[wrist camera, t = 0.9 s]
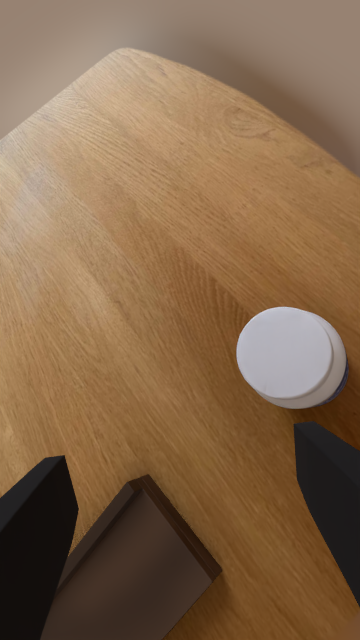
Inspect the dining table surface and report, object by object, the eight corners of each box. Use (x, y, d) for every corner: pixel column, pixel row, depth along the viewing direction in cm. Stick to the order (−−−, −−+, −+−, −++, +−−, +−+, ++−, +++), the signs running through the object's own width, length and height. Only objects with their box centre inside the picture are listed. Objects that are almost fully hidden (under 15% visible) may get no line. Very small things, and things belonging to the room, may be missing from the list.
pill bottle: (320, 423, 24) (299, 436, 16) (254, 377, 27) (205, 367, 19) (366, 356, 24) (369, 332, 15) (294, 316, 27) (262, 277, 18)
